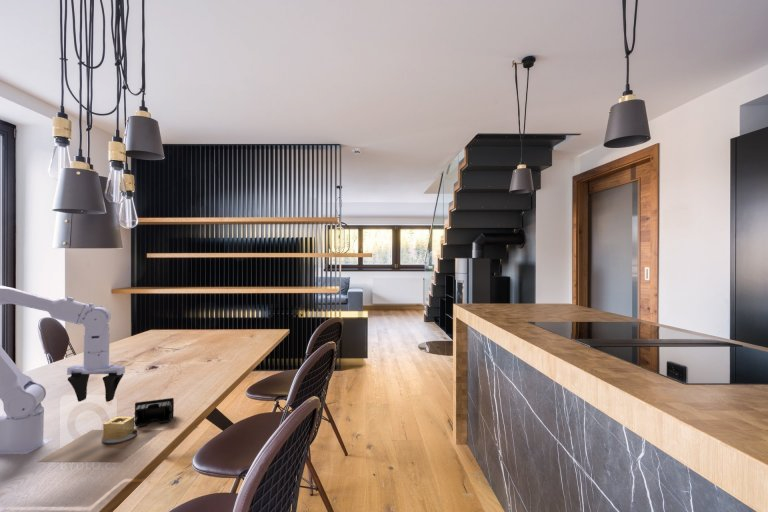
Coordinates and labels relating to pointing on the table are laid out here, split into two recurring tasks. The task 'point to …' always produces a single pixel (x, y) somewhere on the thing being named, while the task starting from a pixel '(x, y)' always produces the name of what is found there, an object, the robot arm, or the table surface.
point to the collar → (118, 428)
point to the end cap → (154, 411)
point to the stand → (117, 441)
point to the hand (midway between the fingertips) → (95, 400)
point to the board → (99, 448)
